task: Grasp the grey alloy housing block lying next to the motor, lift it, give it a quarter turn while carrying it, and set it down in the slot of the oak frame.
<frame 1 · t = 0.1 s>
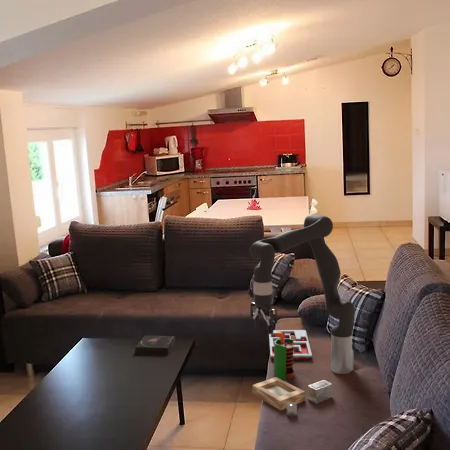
hand: (263, 330, 231), 29 cm above the table, fingers open, 8 cm apart
grey rounded piece: (291, 414, 222), on the table
maze game: (289, 348, 291), on the table
portable cd player: (155, 349, 295), on the table
oak frame: (278, 397, 236), on the table
motor: (284, 375, 258), on the table
alloy housing: (320, 398, 235), on the table
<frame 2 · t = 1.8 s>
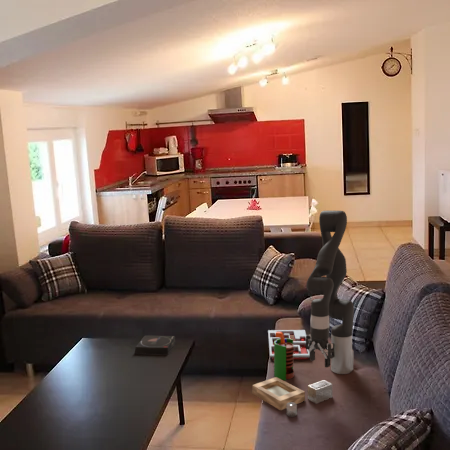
hand: (319, 363, 232), 15 cm above the table, fingers open, 8 cm apart
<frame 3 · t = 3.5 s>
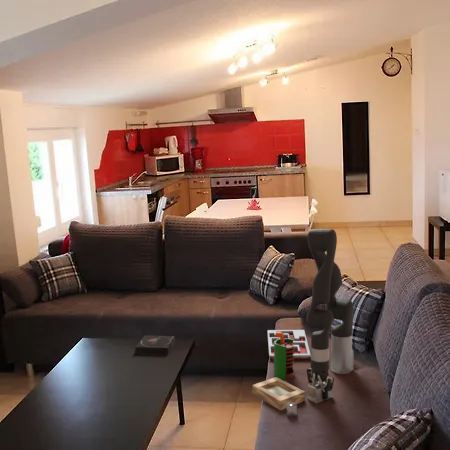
hand: (320, 396, 235), 1 cm above the table, fingers closed on alloy housing, 5 cm apart
alloy housing: (320, 398, 235), on the table, touching gripper
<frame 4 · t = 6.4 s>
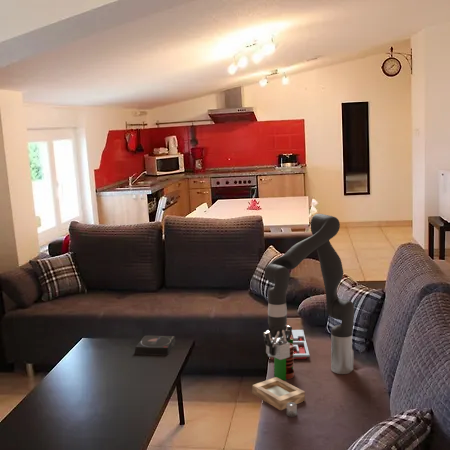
hand: (277, 353, 233), 19 cm above the table, fingers closed on alloy housing, 5 cm apart
alloy housing: (277, 355, 233), point 18 cm above the table, touching gripper
when the fingers open (4 cm above the table, at t = 9.5 s): alloy housing drops 1 cm, resting on oak frame.
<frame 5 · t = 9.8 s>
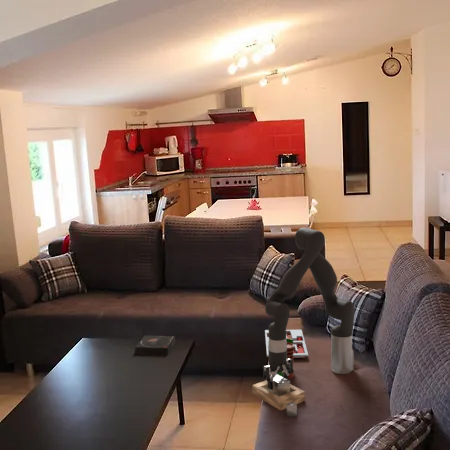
hand: (278, 386, 236), 5 cm above the table, fingers open, 7 cm apart
alloy housing: (278, 392, 236), point 2 cm above the table, touching oak frame
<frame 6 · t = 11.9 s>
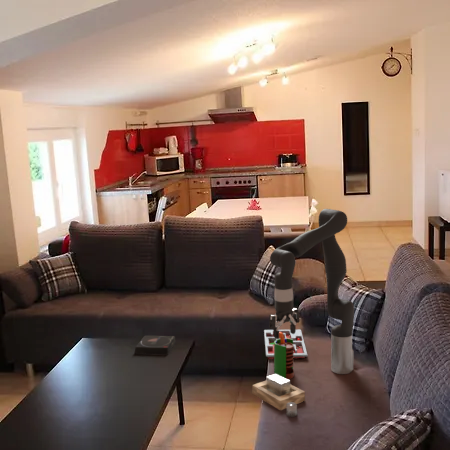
hand: (284, 335, 236), 25 cm above the table, fingers open, 8 cm apart
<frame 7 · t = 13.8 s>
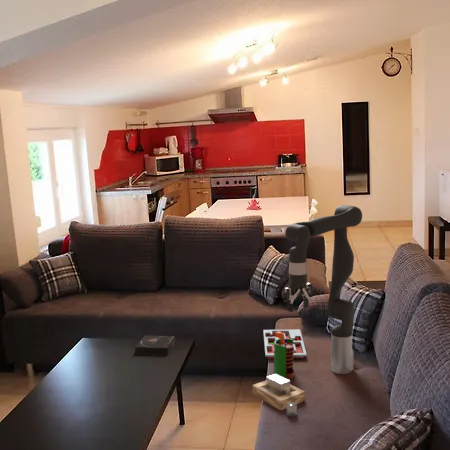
hand: (298, 309, 241), 34 cm above the table, fingers open, 8 cm apart
at the end: alloy housing inside the target area on the oak frame (0.1 cm from its centre), point 2.2 cm above the oak frame's base; alloy housing tilted 0°; the gripper is holding nothing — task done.
